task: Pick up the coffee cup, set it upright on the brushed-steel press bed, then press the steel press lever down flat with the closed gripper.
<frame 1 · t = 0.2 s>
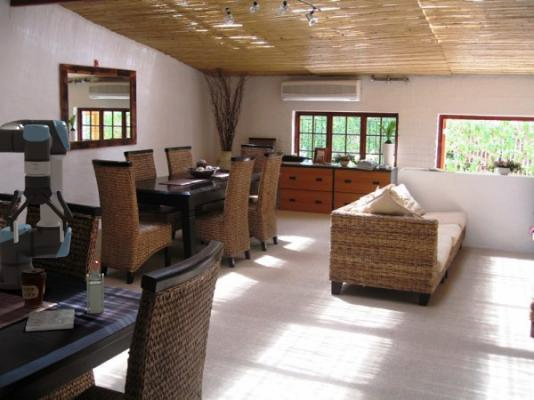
hand: (39, 241, 184), 28 cm above the table, tool pointing down, fingers open, 13 cm apart
press bed: (51, 322, 191), on the table
press column: (95, 311, 202), on the table
coffee cup: (33, 306, 206), on the table
press lever: (95, 271, 195), point 16 cm above the table, hinge at 35.0°
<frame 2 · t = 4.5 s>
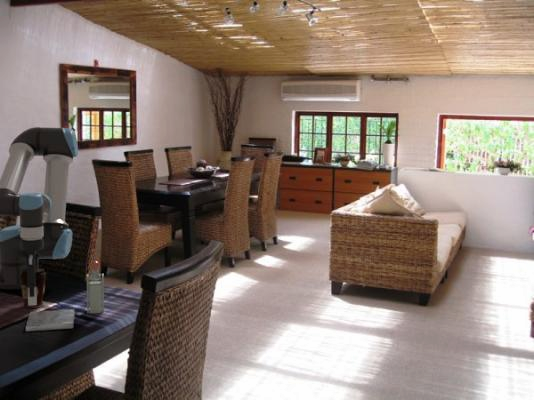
hand: (33, 301, 205), 2 cm above the table, tool pointing down, fingers closed on coffee cup, 7 cm apart
coffee cup: (33, 306, 206), on the table, touching gripper
everything else where it was.
when the fingers open (5 cm above the table, at t = 11.3 s): coffee cup drops 1 cm, resting on press bed.
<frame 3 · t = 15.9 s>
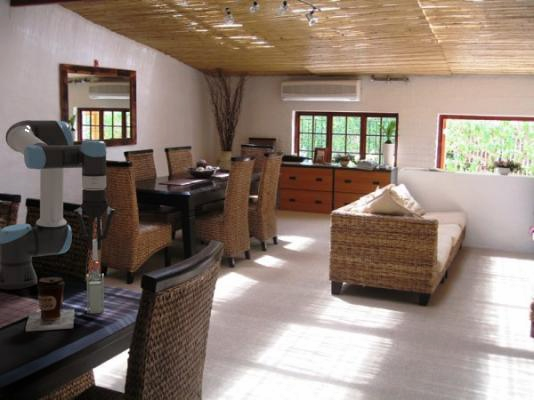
hand: (95, 259, 191), 21 cm above the table, tool pointing down, fingers closed
coffee cup: (51, 318, 190), point 1 cm above the table, touching press bed
press lever: (95, 271, 195), point 15 cm above the table, hinge at 34.6°, touching gripper
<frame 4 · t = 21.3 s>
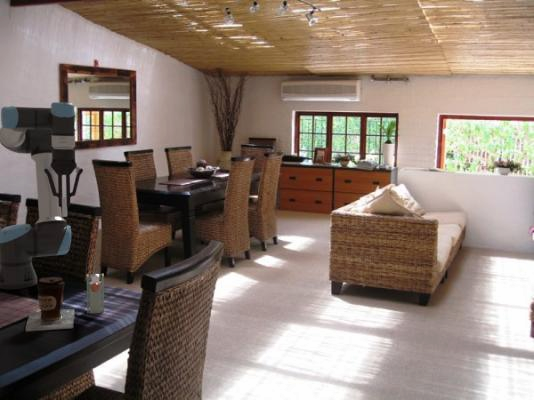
hand: (64, 216, 202), 32 cm above the table, tool pointing down, fingers closed
press lever: (95, 282, 195), point 12 cm above the table, hinge at 0.9°
everything else where it was.
at the end: coffee cup inside the target area on the press bed (0.0 cm from its centre), point 1.3 cm above the press bed's base; coffee cup tilted 0°; press lever at +1° (first picture: +35°) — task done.
